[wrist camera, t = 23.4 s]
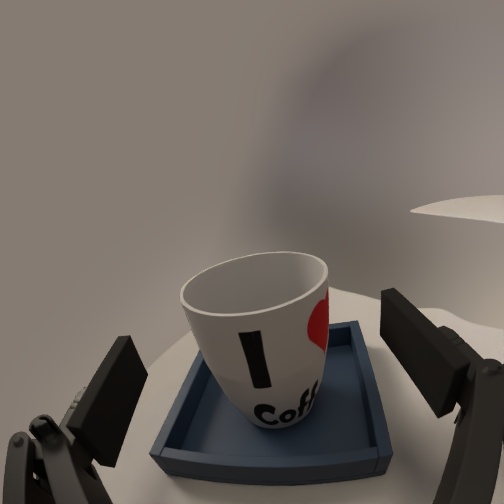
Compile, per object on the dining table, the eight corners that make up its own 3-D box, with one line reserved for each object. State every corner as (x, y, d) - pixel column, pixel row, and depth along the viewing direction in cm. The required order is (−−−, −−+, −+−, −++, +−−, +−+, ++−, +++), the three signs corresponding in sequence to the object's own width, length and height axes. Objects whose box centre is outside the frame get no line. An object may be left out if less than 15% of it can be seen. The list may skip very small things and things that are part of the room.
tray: (164, 473, 14) (148, 453, 13) (213, 355, 26) (206, 333, 26) (385, 474, 11) (393, 454, 10) (357, 343, 24) (357, 319, 23)
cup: (255, 466, 13) (209, 338, 10) (206, 394, 20) (165, 280, 17) (357, 402, 17) (360, 269, 14) (291, 353, 24) (274, 244, 21)
